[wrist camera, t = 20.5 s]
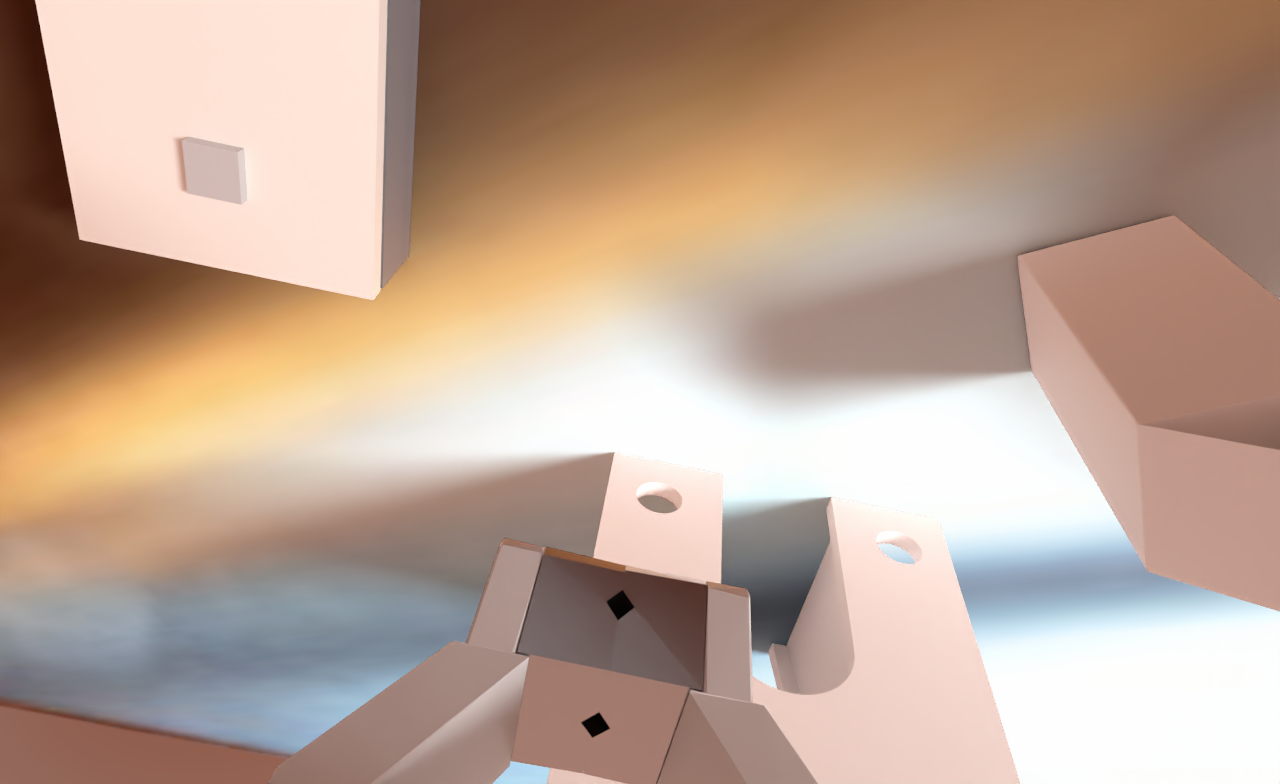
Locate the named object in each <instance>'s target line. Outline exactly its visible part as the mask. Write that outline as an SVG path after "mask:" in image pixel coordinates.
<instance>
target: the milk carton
mask: <svg viewBox="0 0 1280 784" xmlns="http://www.w3.org/2000/svg"><path fill="white" fill-rule="evenodd" d="M1018 269H1019V277H1020V285H1021V292H1022V300H1023V308H1024V316H1025V323H1026V331H1027V339H1028V346H1029V354H1030V362H1031V368H1032V372H1033V374H1034V376H1035V378H1036V379H1037V381H1038V383H1039V384H1040V386H1041V388H1042V390H1043V391H1044V393H1045V395H1046V397H1047V398H1048V400H1049V402H1050V403H1051V405H1052V407H1053V409H1054V410H1055V412H1056V414H1057V416H1058V417H1059V419H1060V421H1061V422H1062V424H1063V426H1064V428H1065V429H1066V431H1067V433H1068V435H1069V436H1070V438H1071V440H1072V441H1073V443H1074V445H1075V447H1076V448H1077V450H1078V452H1079V454H1080V455H1081V457H1082V459H1083V460H1084V462H1085V464H1086V466H1087V467H1088V469H1089V471H1090V473H1091V474H1092V476H1093V478H1094V479H1095V481H1096V483H1097V485H1098V486H1099V488H1100V490H1101V492H1102V493H1103V495H1104V497H1105V498H1106V500H1107V502H1108V504H1109V505H1110V507H1111V509H1112V511H1113V512H1114V514H1115V516H1116V518H1117V519H1118V521H1119V523H1120V524H1121V526H1122V528H1123V530H1124V531H1125V533H1126V535H1127V537H1128V538H1129V540H1130V542H1131V543H1132V545H1133V547H1134V549H1135V550H1136V552H1137V554H1138V556H1139V557H1140V559H1141V561H1142V562H1143V564H1144V566H1145V568H1146V569H1147V571H1148V572H1151V573H1154V574H1157V575H1161V576H1164V577H1167V578H1171V579H1174V580H1177V581H1181V582H1184V583H1187V584H1191V585H1194V586H1197V587H1201V588H1204V589H1207V590H1211V591H1214V592H1217V593H1221V594H1224V595H1227V596H1231V597H1234V598H1237V599H1241V600H1244V601H1247V602H1251V603H1254V604H1257V605H1260V606H1264V607H1267V608H1270V609H1274V610H1277V611H1280V300H1278V299H1277V298H1276V297H1275V296H1273V295H1272V294H1271V293H1270V292H1269V291H1267V290H1266V289H1265V288H1264V287H1262V286H1261V285H1260V284H1259V283H1257V282H1256V281H1255V280H1254V279H1252V278H1251V277H1250V276H1249V275H1248V274H1246V273H1245V272H1244V271H1243V270H1241V269H1240V268H1239V267H1238V266H1236V265H1235V264H1234V263H1233V262H1232V261H1230V260H1229V259H1228V258H1227V257H1225V256H1224V255H1223V254H1222V253H1220V252H1219V251H1218V250H1217V249H1216V248H1214V247H1213V246H1212V245H1211V244H1209V243H1208V242H1207V241H1206V240H1204V239H1203V238H1202V237H1201V236H1200V235H1198V234H1197V233H1196V232H1195V231H1193V230H1192V229H1191V228H1190V227H1188V226H1187V225H1186V224H1185V223H1184V222H1182V221H1181V220H1180V219H1179V218H1177V217H1176V216H1174V215H1173V216H1169V217H1165V218H1161V219H1157V220H1153V221H1149V222H1145V223H1141V224H1138V225H1134V226H1130V227H1126V228H1122V229H1118V230H1114V231H1111V232H1107V233H1103V234H1099V235H1095V236H1091V237H1087V238H1084V239H1080V240H1076V241H1072V242H1068V243H1064V244H1060V245H1057V246H1053V247H1049V248H1045V249H1041V250H1037V251H1033V252H1030V253H1026V254H1022V255H1019V256H1018Z"/></svg>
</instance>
